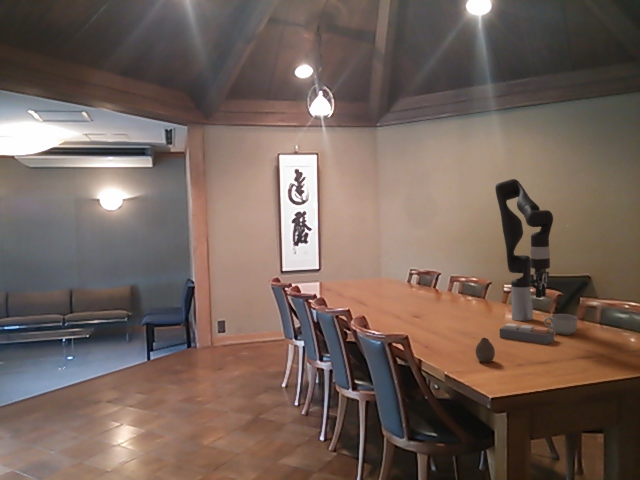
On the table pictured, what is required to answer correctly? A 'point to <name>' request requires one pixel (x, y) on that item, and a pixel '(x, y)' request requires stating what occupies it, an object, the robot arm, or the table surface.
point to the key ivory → (511, 326)
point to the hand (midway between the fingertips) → (540, 296)
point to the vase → (485, 351)
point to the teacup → (562, 323)
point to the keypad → (527, 336)
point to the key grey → (526, 328)
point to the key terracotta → (541, 330)
